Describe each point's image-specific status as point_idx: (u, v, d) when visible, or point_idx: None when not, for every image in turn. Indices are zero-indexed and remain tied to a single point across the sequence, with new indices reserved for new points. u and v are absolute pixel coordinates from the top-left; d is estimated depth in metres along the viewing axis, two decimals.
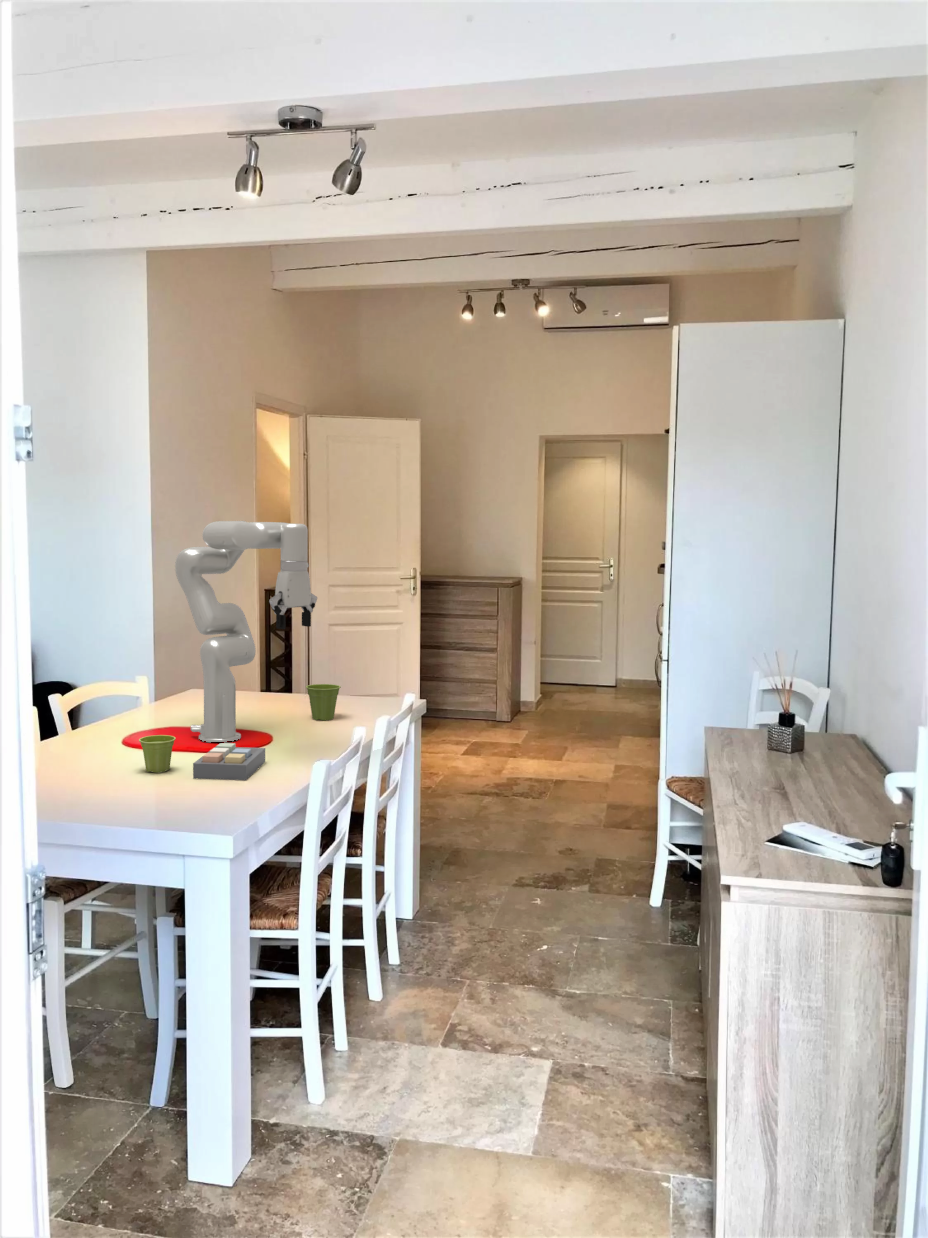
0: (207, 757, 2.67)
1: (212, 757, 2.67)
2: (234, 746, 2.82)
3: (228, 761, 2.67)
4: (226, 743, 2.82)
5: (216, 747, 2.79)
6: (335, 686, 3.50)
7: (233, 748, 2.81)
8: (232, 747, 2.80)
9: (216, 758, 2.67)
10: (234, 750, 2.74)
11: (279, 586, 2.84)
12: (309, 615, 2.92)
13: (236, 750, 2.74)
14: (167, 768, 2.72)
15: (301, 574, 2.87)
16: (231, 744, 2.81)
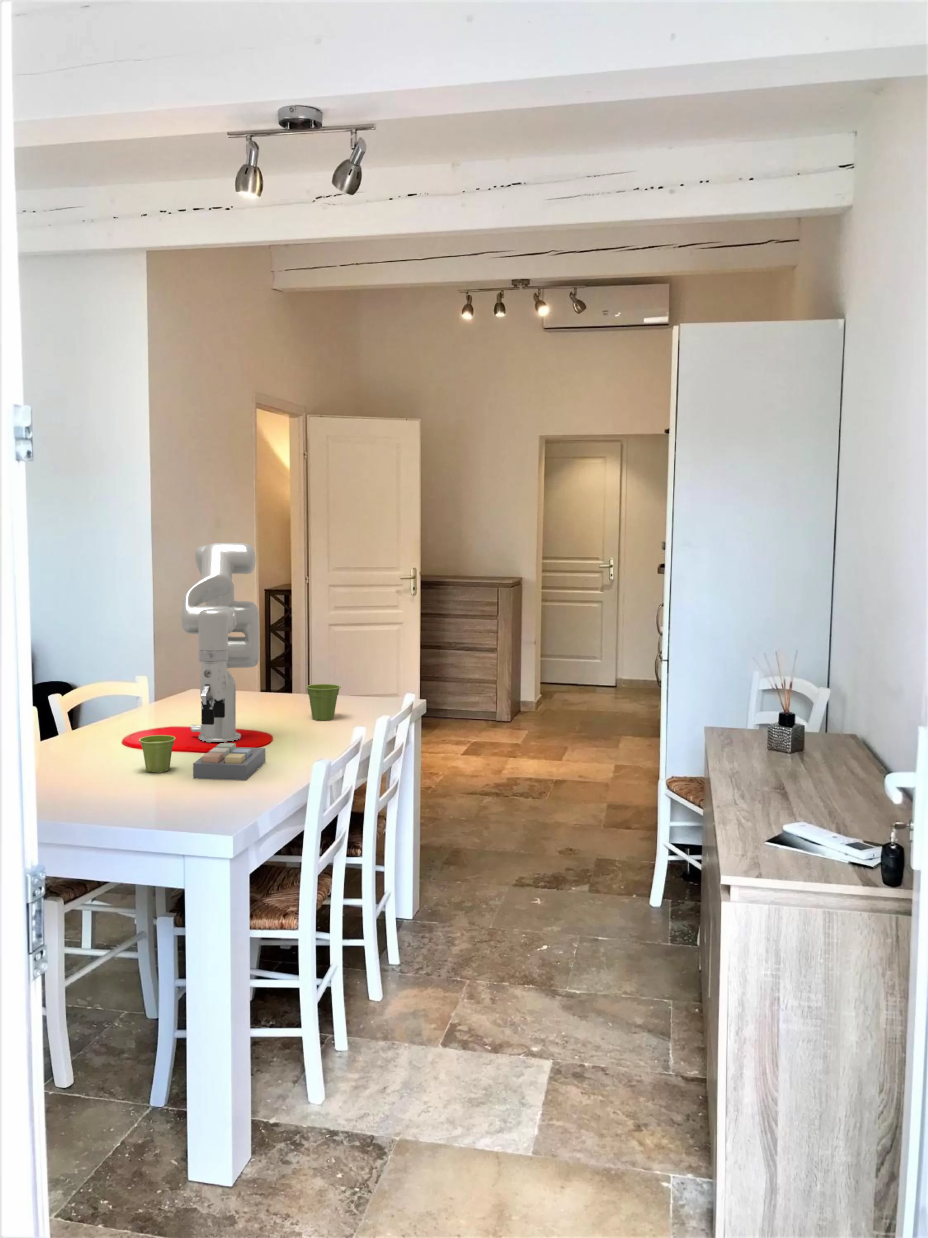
0: (207, 757, 2.67)
1: (212, 757, 2.67)
2: (234, 746, 2.82)
3: (228, 761, 2.67)
4: (226, 743, 2.82)
5: (216, 747, 2.79)
6: (335, 686, 3.50)
7: (233, 748, 2.81)
8: (232, 747, 2.80)
9: (216, 758, 2.67)
10: (234, 750, 2.74)
11: None
12: None
13: (236, 750, 2.74)
14: (167, 768, 2.72)
15: None
16: (231, 744, 2.81)
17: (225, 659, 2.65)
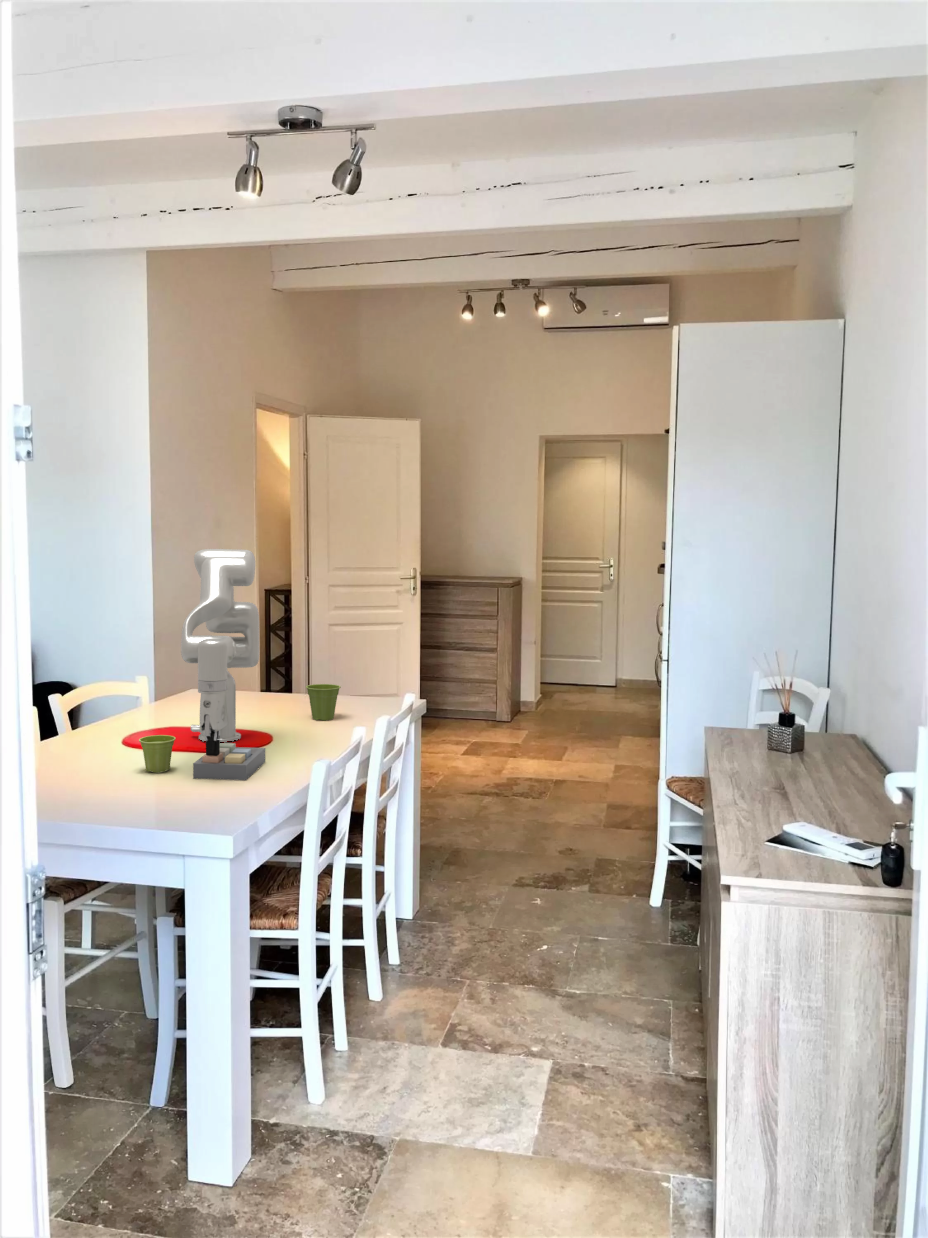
0: (207, 757, 2.67)
1: (212, 757, 2.67)
2: (234, 746, 2.82)
3: (228, 761, 2.67)
4: (226, 743, 2.82)
5: None
6: (335, 686, 3.50)
7: (233, 748, 2.81)
8: (232, 747, 2.80)
9: (216, 758, 2.67)
10: (234, 750, 2.74)
11: None
12: None
13: (236, 750, 2.74)
14: (167, 768, 2.72)
15: None
16: (231, 744, 2.81)
17: (224, 689, 2.66)
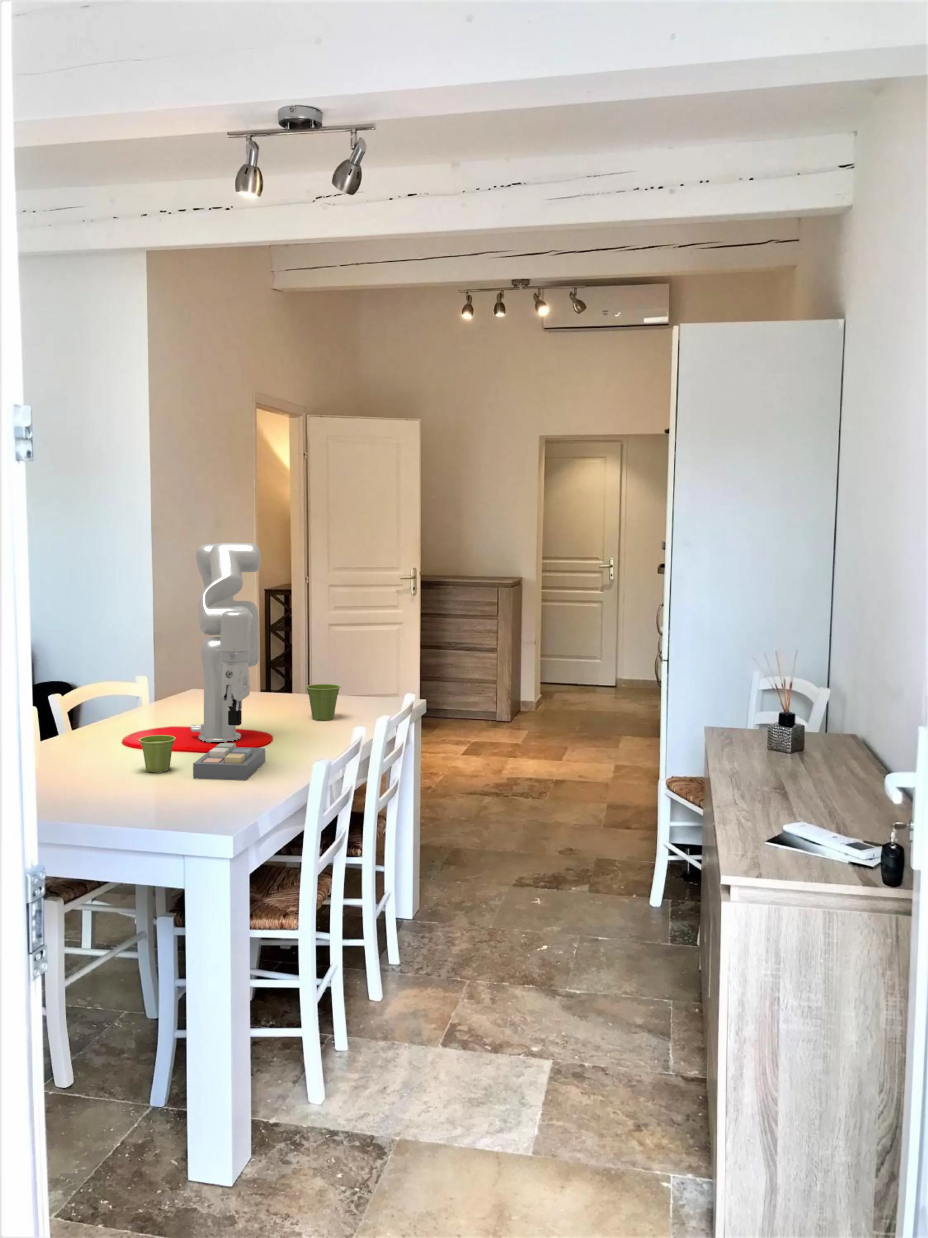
0: None
1: (212, 762, 2.67)
2: (234, 746, 2.82)
3: (228, 761, 2.67)
4: (226, 743, 2.82)
5: (216, 747, 2.79)
6: (335, 686, 3.50)
7: (233, 748, 2.81)
8: (232, 747, 2.80)
9: None
10: (234, 750, 2.74)
11: None
12: None
13: (236, 750, 2.74)
14: (167, 768, 2.72)
15: None
16: (231, 744, 2.81)
17: (246, 660, 2.69)
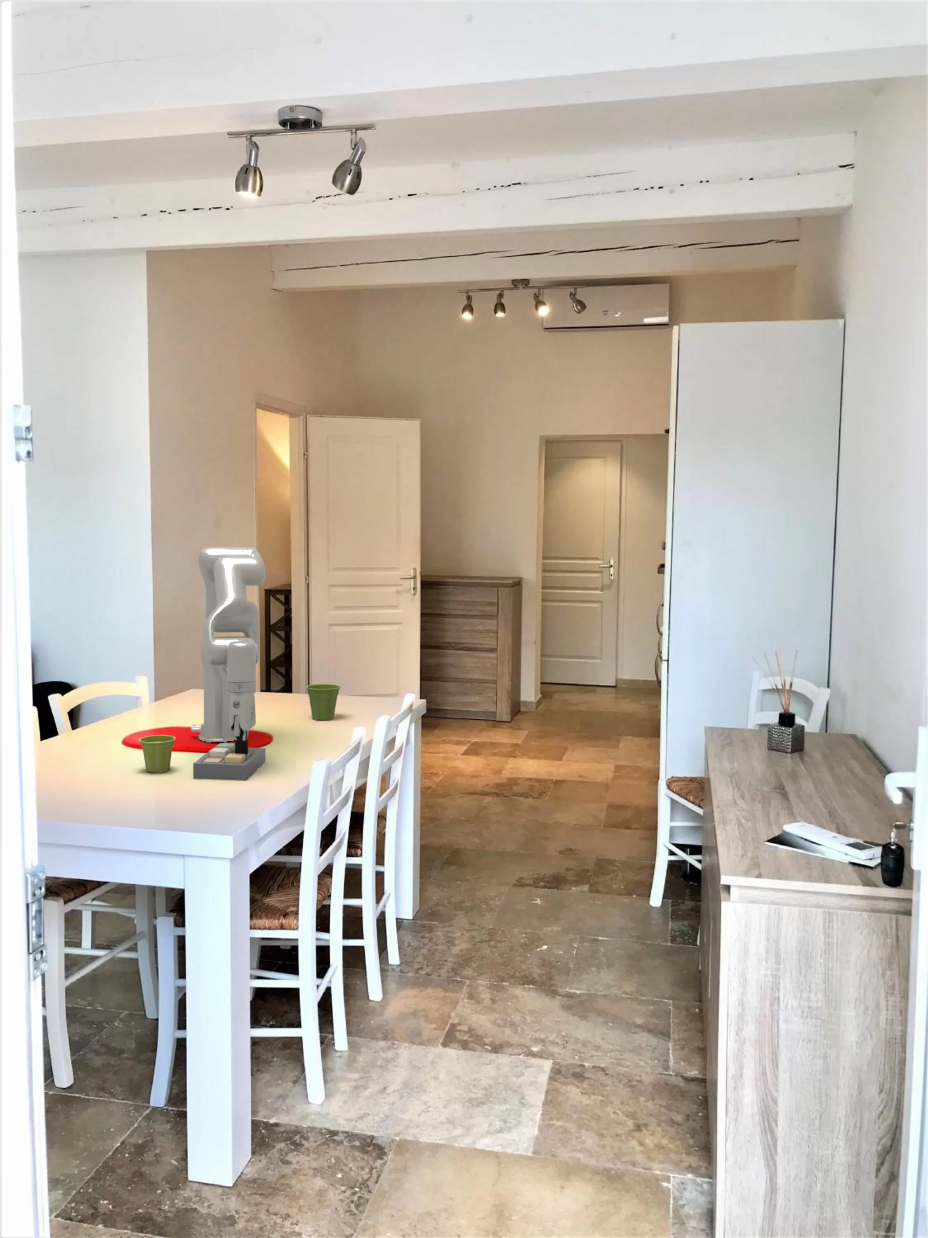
0: None
1: (212, 762, 2.67)
2: (234, 746, 2.82)
3: (228, 761, 2.67)
4: (226, 743, 2.82)
5: (216, 747, 2.79)
6: (335, 686, 3.50)
7: (233, 748, 2.81)
8: (232, 747, 2.80)
9: None
10: None
11: None
12: None
13: None
14: (167, 768, 2.72)
15: None
16: (231, 744, 2.81)
17: (253, 690, 2.72)
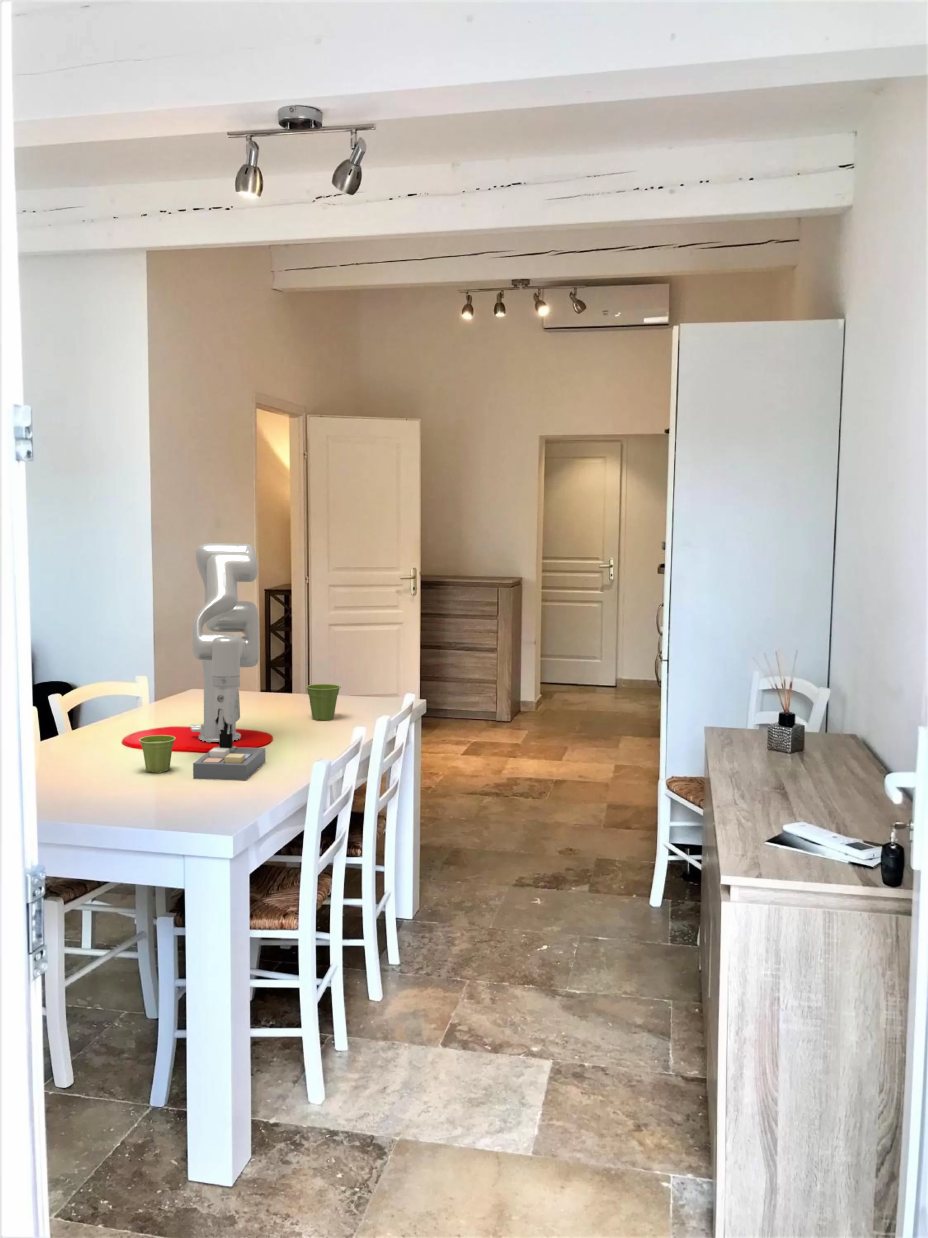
0: None
1: (212, 762, 2.67)
2: (234, 749, 2.82)
3: (228, 761, 2.67)
4: None
5: None
6: (335, 686, 3.50)
7: (233, 751, 2.81)
8: (232, 750, 2.80)
9: None
10: None
11: None
12: None
13: None
14: (167, 768, 2.72)
15: None
16: (231, 747, 2.81)
17: (237, 684, 2.78)
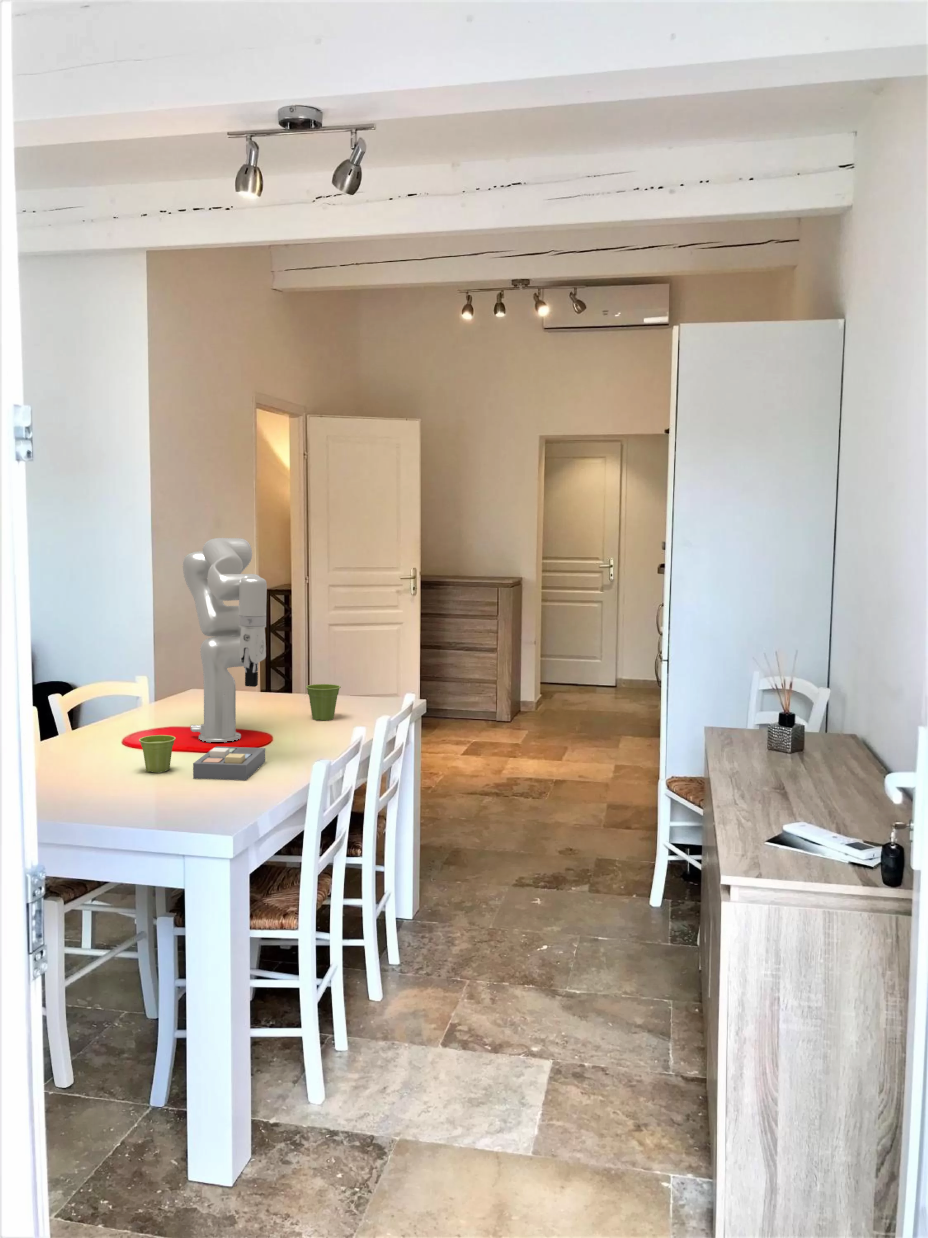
0: None
1: (212, 762, 2.67)
2: None
3: (228, 761, 2.67)
4: None
5: None
6: (335, 686, 3.50)
7: None
8: None
9: None
10: None
11: None
12: None
13: None
14: (167, 768, 2.72)
15: None
16: (231, 749, 2.81)
17: (263, 624, 2.83)
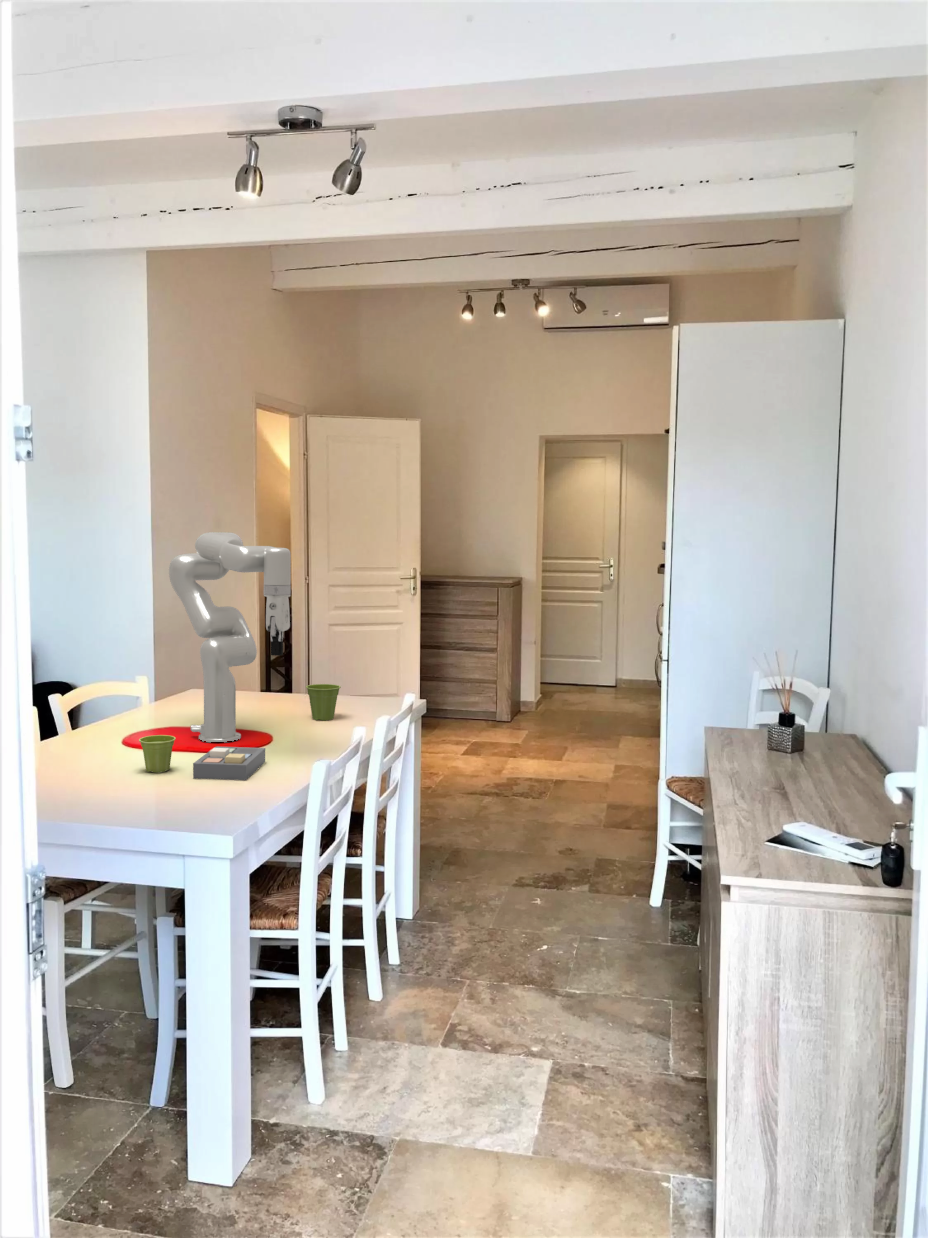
0: None
1: (212, 762, 2.67)
2: None
3: (228, 761, 2.67)
4: None
5: None
6: (335, 686, 3.50)
7: None
8: None
9: None
10: None
11: None
12: None
13: None
14: (167, 768, 2.72)
15: None
16: (231, 749, 2.81)
17: (288, 593, 2.88)
